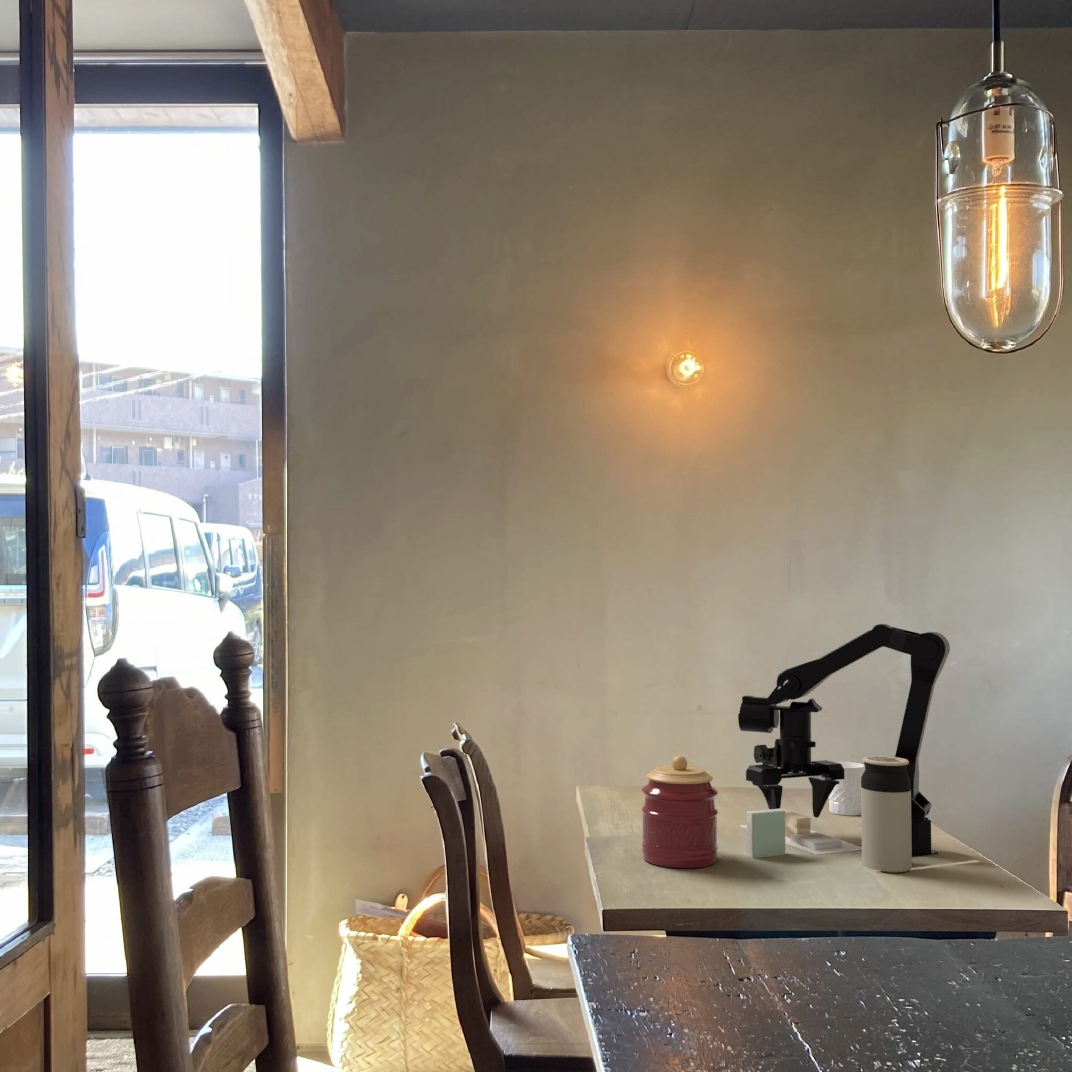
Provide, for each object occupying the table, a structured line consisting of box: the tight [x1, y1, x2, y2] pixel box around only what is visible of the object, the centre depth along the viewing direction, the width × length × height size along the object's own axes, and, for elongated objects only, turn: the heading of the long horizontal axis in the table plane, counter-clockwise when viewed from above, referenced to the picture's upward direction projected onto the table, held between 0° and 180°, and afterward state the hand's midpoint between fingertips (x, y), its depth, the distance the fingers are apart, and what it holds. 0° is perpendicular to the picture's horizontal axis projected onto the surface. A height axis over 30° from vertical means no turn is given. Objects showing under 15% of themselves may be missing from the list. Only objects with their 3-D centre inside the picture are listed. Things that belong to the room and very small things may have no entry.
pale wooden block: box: [782, 808, 843, 850], centre depth 191 cm, size 15×6×4 cm, turn 23°
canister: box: [641, 755, 719, 869], centre depth 177 cm, size 13×13×18 cm
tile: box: [746, 808, 786, 859], centre depth 179 cm, size 2×7×8 cm, turn 113°
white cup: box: [828, 761, 865, 817], centre depth 217 cm, size 8×8×10 cm
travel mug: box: [860, 755, 913, 874], centre depth 173 cm, size 8×8×18 cm
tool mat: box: [738, 824, 862, 856], centre depth 193 cm, size 24×11×1 cm, turn 23°
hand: (795, 819), depth 192 cm, fingers open, 9 cm apart
